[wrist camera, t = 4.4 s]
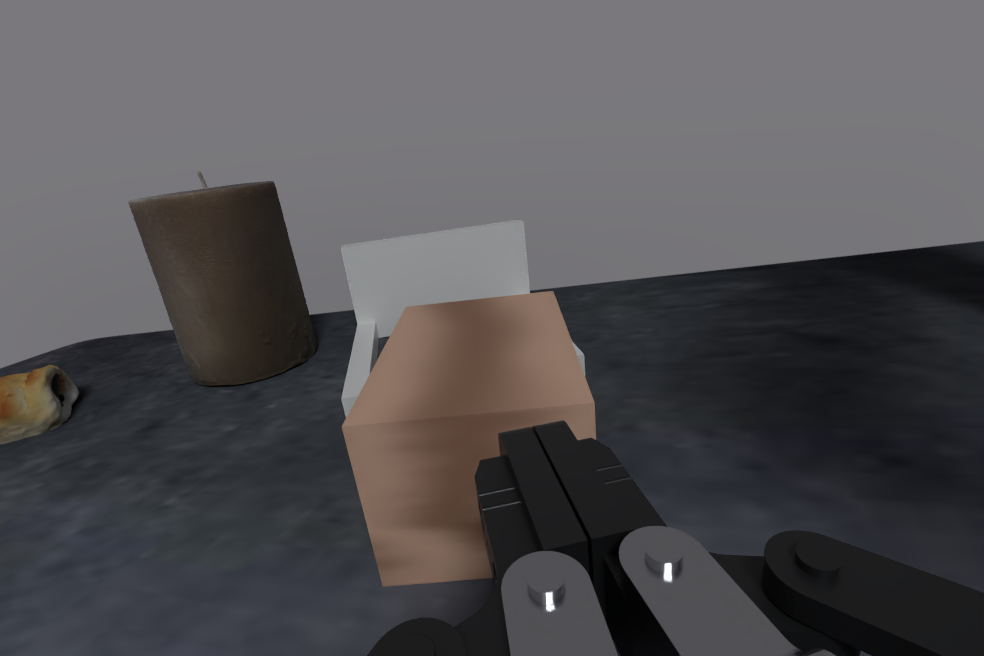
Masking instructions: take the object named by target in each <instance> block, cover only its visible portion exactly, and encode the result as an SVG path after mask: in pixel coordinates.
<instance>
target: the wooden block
mask: <svg viewBox="0 0 984 656" xmlns="http://www.w3.org/2000/svg"><path fill="white" fill-rule="evenodd" d="M561 420H564V421H565V422H566V423H567V424H568V426H569V428H570V429H571V431H572V432H573V434H574V435H575V437H576V439H577V440H582V439H587V438H593V439H595V440H596V426H595V404H594V400H593V397H592V395H591V392H590V389H589V387H588V384H587V381H586V379H585V376H584V373H583V370H582V368H581V365H580V362H579V360H578V357H577V354H576V351H575V349H574V346H573V343H572V341H571V338H570V335H569V333H568V330H567V327H566V324H565V322H564V319H563V316H562V314H561V311H560V308H559V306H558V303H557V300H556V297H555V295H554V292H553V291H549V292H539V293H530V294H520V295H511V296H502V297H492V298H483V299H473V300H464V301H455V302H445V303H436V304H426V305H417V306H408V307H405V309H404V311H403V313H402V315H401V317H400V319H399V320H398V322H397V324H396V326H395V328H394V330H393V332H392V334H391V335H390V337H389V339H388V341H387V343H386V345H385V347H384V349H383V350H382V352H381V354H380V356H379V358H378V360H377V362H376V364H375V365H374V367H373V369H372V371H371V373H370V375H369V377H368V378H367V380H366V382H365V384H364V386H363V388H362V390H361V392H360V393H359V395H358V397H357V399H356V401H355V403H354V405H353V407H352V408H351V410H350V412H349V414H348V416H347V418H346V420H345V422H344V423H343V425H342V430H343V434H344V438H345V442H346V445H347V449H348V453H349V457H350V461H351V465H352V469H353V473H354V477H355V480H356V484H357V488H358V492H359V496H360V500H361V504H362V508H363V512H364V515H365V519H366V523H367V527H368V531H369V535H370V539H371V543H372V547H373V551H374V554H375V558H376V562H377V566H378V570H379V574H380V578H381V582H382V586H395V585H408V584H421V583H433V582H446V581H459V580H472V579H484V578H493V576H492V572H491V568H490V563H489V559H488V554H487V550H486V546H485V542H484V537H483V533H482V526H481V519H480V512H479V505H478V499H477V492H476V485H475V478H474V476H475V473H476V470H477V468H478V465H479V462H480V460H483V459H488V458H493V457H498V456H500V450H499V441H498V433H501V432H506V431H511V430H516V429H521V428H526V427H531V428H532V426H536V425H541V424H546V423H551V422H556V421H561Z"/></svg>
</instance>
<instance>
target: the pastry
mask: <svg viewBox="0 0 984 656" xmlns="http://www.w3.org/2000/svg"><path fill="white" fill-rule="evenodd" d="M78 395H79V391H78V389H77V387H76V386H75V385H74V384H73V383H72V381H71V380H70V378H69V377H68V376H67V375H66V374H65V373H64V372H63V371H62V370H61V369H60V368H58V367H56V366H52V365H48V366H46V367H43V368H40V369H35V370H33V371H32V372H30V373H24V374H13V375H9V376H5V377H1V378H0V444H4V443H9V442H12V441H16V440H20V439H23V438H27V437H30V436H34V435H37V434H40V433H43V432H46V431H49V430H52V429H54V428H56V427H58V426H60V425H62V423H63V422H65V421H66V420H67V419H68V418H69V417H70V415H71V410H72V407H71V406H72V404H73V403H74V402H75V401H76V399H77V397H78Z"/></svg>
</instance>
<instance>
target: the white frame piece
mask: <svg viewBox="0 0 984 656" xmlns="http://www.w3.org/2000/svg"><path fill="white" fill-rule="evenodd" d="M525 244H526V243H525V232H524V222H523V221H521V220H514V221H507V222H500V223H493V224H486V225H479V226H472V227H466V228H458V229H451V230H444V231H437V232H430V233H423V234H417V235H409V236H402V237H395V238H388V239H381V240H374V241H368V242H361V243H353V244H347V245H342V247H341V252H342V257H343V261H344V265H345V270H346V275H347V279H348V284H349V288H350V293H351V297H352V302H353V306H354V311H355V315H356V320H357V324H358V325H357V330H356V334H355V339H354V343H353V348H352V352H351V357H350V362H349V366H348V371H347V375H346V380H345V385H344V389H343V394H342V398H341V399H342V403H343V407H344V411H345V415H346V418H347V416H348V414H349V412H350V410H351V408H352V407H353V405H354V403H355V401H356V399H357V397H358V395H359V393H360V392H361V390H362V388H363V386H364V384H365V382H366V380H367V378H368V377H369V375H370V373H371V371H372V369H373V367H374V365H375V364H376V362H377V355H378V344H379V338H382V337H388V336H390V335H391V334H392V332H393V330H394V328H395V326H396V324H397V322H398V320H399V319H400V317H401V315H402V313H403V311H404V309H405V307H408V306H417V305H426V304H436V303H445V302H455V301H464V300H473V299H483V298H492V297H502V296H511V295H520V294H530V288H529V277H528V265H527V254H526V245H525ZM572 343H573V342H572ZM573 346H574V349H575V351H576V354H577V357H578V360H579V362H580V365H581V368H582V370H583V373H584V376H585V361H584V354H583V353H582V352H581V351H580V349H579V348H578V347H577V346H576V345H575V344H574V343H573Z"/></svg>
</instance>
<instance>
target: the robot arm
mask: <svg viewBox="0 0 984 656" xmlns="http://www.w3.org/2000/svg"><path fill="white" fill-rule="evenodd" d="M498 441H499V450H500V456H498V457H493V458H488V459H483V460H480V462H479V465H478V468H477V470H476V473H475V476H474V478H475V485H476V492H477V499H478V505H479V512H480V519H481V526H482V533H483V537H484V542H485V546H486V550H487V554H488V559H489V563H490V568H491V572H492V576H493V581H494V585H495V590H494V592H493V594H492V596H491V598H490V599H489V601H488V602H487V603H486V604H485V606H484V607H483V608H482V609H481V610H479V611H478V612H477V613H476V614H474V615H473V616H471V617H470V618H468V619H467V620H465V621H463V622H462V623H460V624H458V625H457V626H455V627H452V626H451V625H450V624H448V623H446V622H444V621H442V620H438V619H434V618H417V619H412V620H409V621H406V622H403V623H402V624H400V625H398V626H396V627H394V628H393V629H391V630H390V631H388V632H387V633H386V634H385V635H384V636H383V637H382V638H381V639H380V640H379V641H378V642H377V644H376V645H375V646H374V647H373V649H372V650H371V651H370V653H369V654H368V655H367V656H618V654H617V651H616V649H615V646H614V643H613V640H614V642H615V644H616V646H617V648H618V651H619V653H620V655H621V656H860V652H861V651H863V652H865V653H867V654H870V655H872V656H984V593H982V592H980V591H977V590H974V589H971V588H969V587H966V586H963V585H960V584H957V583H955V582H952V581H949V580H946V579H944V578H941V577H938V576H935V575H932V574H930V573H927V572H924V571H921V570H919V569H916V568H913V567H910V566H908V565H905V564H902V563H899V562H896V561H894V560H891V559H888V558H885V557H883V556H880V555H877V554H874V553H872V552H869V551H866V550H863V549H860V548H858V547H855V546H852V545H849V544H847V543H844V542H841V541H838V540H835V539H833V538H830V537H827V536H824V535H821V534H818V533H813V532H808V531H785V532H782V533H778V534H776V535H774V536H773V537H772V538H770V539H769V540H768V542H767V544H766V546H765V551H764V557H763V556H739V555H722V554H715V553H710V552H707V550H706V549H705V548H704V547H703V546H702V545H701V544H700V543H699V542H698V541H697V540H695V539H694V538H693V537H691V536H690V535H688V534H686V533H684V532H682V531H679V530H677V529H674V528H670V527H667V526H666V524H665V523H664V522H663V520H662V519H661V518H660V516H659V515H658V513H657V512H656V511H655V509H654V508H653V507H652V505H651V504H650V503H649V501H648V500H647V498H646V497H645V496H644V494H643V493H642V492H641V490H640V489H639V487H638V486H637V485H636V483H635V482H634V481H633V479H631V478H630V475H629V474H628V472H627V471H626V470H625V468H624V467H622V466H621V463H620V461H619V460H618V459H617V457H616V456H615V455H614V453H613V452H612V451H611V449H610V448H608V447H607V446H605V445H603V444H602V443H600V442H598V441H597V440H595V439H593V438H587V439H582V440H577V439H576V437H575V435H574V434H573V432H572V431H571V429H570V428H569V426H568V424H567V423H566V422H565V421H564V420H561V421H556V422H551V423H546V424H541V425H536V426H532V428H531V427H526V428H521V429H516V430H511V431H506V432H501V433H498Z"/></svg>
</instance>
